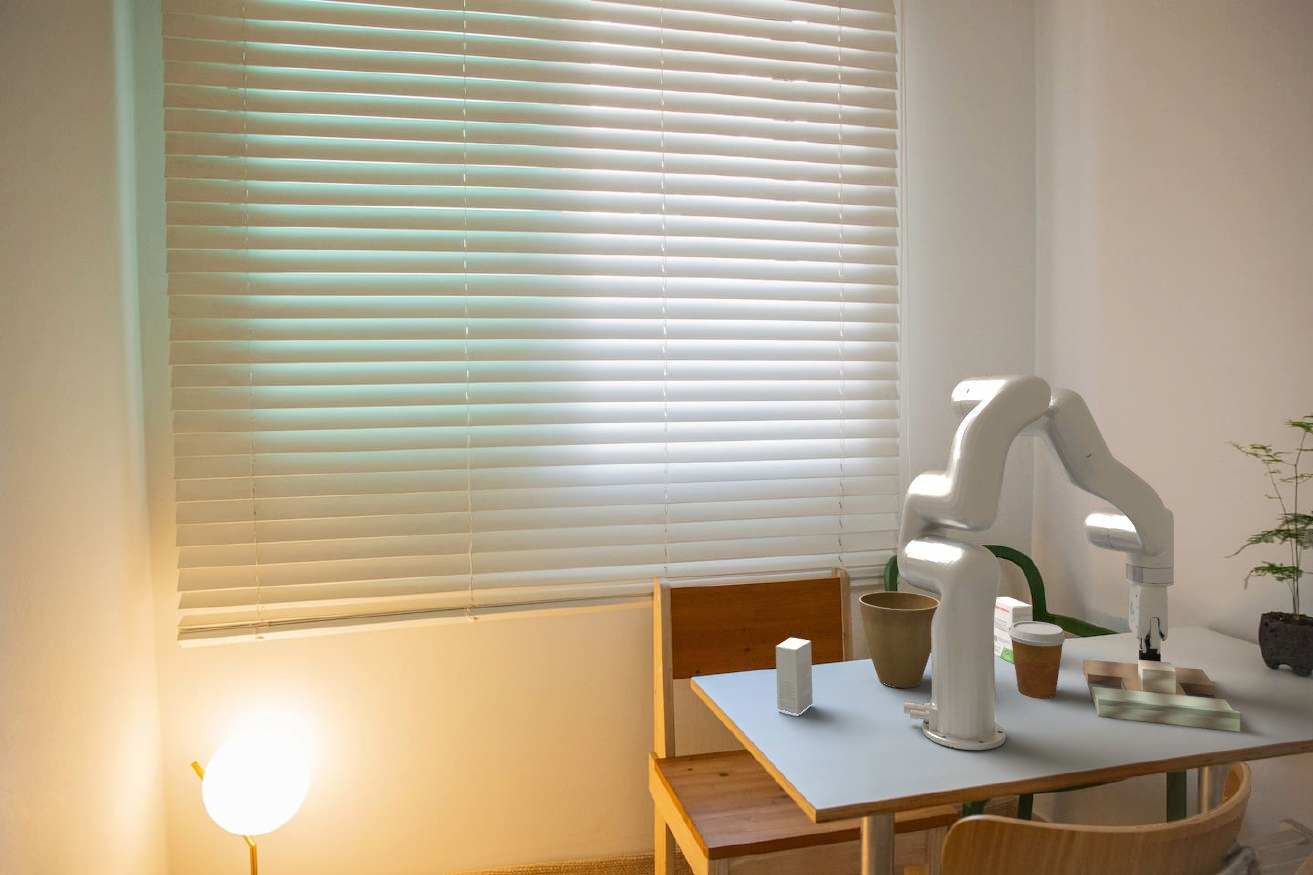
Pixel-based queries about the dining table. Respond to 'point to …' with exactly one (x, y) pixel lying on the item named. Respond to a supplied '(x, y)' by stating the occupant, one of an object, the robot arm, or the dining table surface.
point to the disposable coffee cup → (1037, 657)
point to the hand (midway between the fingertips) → (1149, 672)
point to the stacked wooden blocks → (1158, 697)
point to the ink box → (1008, 624)
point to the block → (1157, 676)
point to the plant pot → (898, 634)
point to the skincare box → (794, 675)
